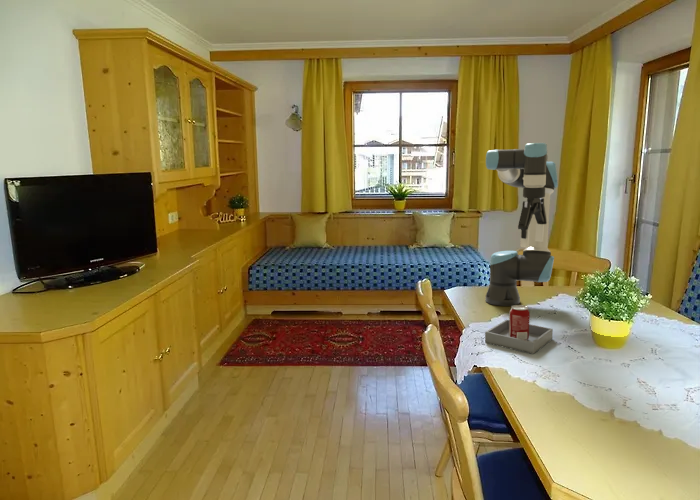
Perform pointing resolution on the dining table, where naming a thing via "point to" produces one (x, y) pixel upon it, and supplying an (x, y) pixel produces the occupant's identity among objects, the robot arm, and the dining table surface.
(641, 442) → the dining table surface
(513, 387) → the dining table surface
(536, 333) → the bin
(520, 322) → the soda can
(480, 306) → the dining table surface
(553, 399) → the dining table surface
